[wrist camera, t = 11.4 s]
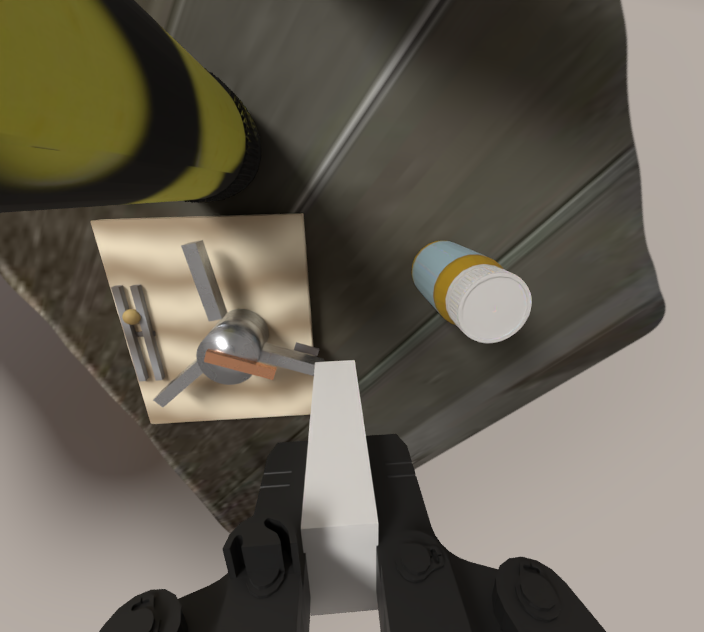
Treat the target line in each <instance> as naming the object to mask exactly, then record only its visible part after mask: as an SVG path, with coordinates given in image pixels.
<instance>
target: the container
mask: <svg viewBox="0 0 704 632" xmlns="http://www.w3.org/2000/svg"><path fill="white" fill-rule="evenodd" d="M260 159H261V146H260V138H259V135H258V132H257V128H256V125H255V123H254V122H253V120H252V118H251V117H250V113H249V112H247V108H246V107H245V106H244V105H243V103H242V102H241V100H239V98H238V97H237V96H236V95H235V94H234V93H233V92H232V91H231V90H230V89H229V88H228V87H227V86H226V85H225V83H223V82H222V81H221V80H220V79H219V78H217V77H215V75H213V73H211V72H209V71H207V70H206V69H205V68H203V67H202V66H201V65H200V64H199V63H198V62H197V61H196V60H195V59H194V58H193V57H192V56H191V55H190V54H189V53H188V52H187V51H186V50H185V49H184V48H183V47H182V46H181V45H180V44H179V43H178V42H177V41H176V40H174V39H173V38H172V37H171V36H170V35H169V34H168V33H167V32H166V31H165V30H164V29H163V28H162V27H161V26H160V25H159V24H158V23H157V22H156V21H155V20H154V19H153V18H152V17H151V16H150V15H149V14H148V13H147V12H146V11H145V10H144V9H143V8H141V7H140V6H139V5H138V4H137V3H136V2H135V1H134V0H0V213H1V212H16V211H32V210H47V209H62V208H77V207H92V206H107V205H122V204H137V203H152V202H167V201H182V200H184V201H185V202H187V201H188V202H189V201H190V202H192V203H193V202H198V203H199V202H208V201H209V202H210V201H217V200H218V201H219V200H221V199H222V200H223V199H225V198H229V197H230V196H231V195H235V194H237V193H238V192H240V191H242V190H243V189H245V188H246V187H247V186H248V185H249V183H250V182H251V181H252V180H253V179H254V177H255V175H256V173H257V171H258V167H259V163H260Z"/></svg>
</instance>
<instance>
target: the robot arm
mask: <svg viewBox="0 0 704 632" xmlns="http://www.w3.org/2000/svg"><path fill="white" fill-rule="evenodd" d="M223 553H224V557H225V561H226V565H227V569H228V573H227V574H226V575H225V576H224V577H222V578H221V579H220V580H218V581H216V582H215V583H213V584H211V585H209V586H207V587H205V588H203V589H200V590H198V591H196V592H193V593H191V594H189V595H186V596H184V597H182V598H179V599H177V597H176V595H175V594H173V593H171V592H169V591H167V590H166V589H159V590H150V591H147V592H145V593H142V594H140V595H137V596H135V597H134V598H132V599H131V600H130V601H128V602H127V603H126V604H124V605H123V606H121V607H120V608H119V609H118V610H117V611H116V612H115V613H114V614H113V615H112V617H111V618H110V619H109V620H108V621H107V622H106V623H105V625H104V626H103V627H102V628H101V630H100V631H99V632H309V623H310V614H311V616H312V615H323V614H334V613H346V612H357V611H368V610H377V609H378V611H379V620H380V628H381V632H606V631H605V630H604V629H603V627H602V626H601V625H600V624H599V622H598V621H597V620H596V619H595V618H594V616H593V615H592V614H591V613H590V612H589V610H588V609H587V608H586V607H585V606H584V604H583V603H582V602H581V601H580V600H579V598H578V597H577V596H576V595H575V593H574V592H573V591H572V590H571V589H570V588H569V586H568V585H567V584H566V583H565V582H564V581H563V580H562V579H561V578H560V577H559V576H558V575H557V574H556V573H555V572H554V571H553V570H552V569H550V568H548V567H547V566H545V565H543V564H542V563H540V562H538V561H536V560H532V559H528V558H525V557H516V558H509V559H508V560H507V561H505V562H504V563H503V564H501V565H500V567H499V569H494V568H491V567H487V566H483V565H479V564H476V563H472V562H468V561H466V560H464V559H461V558H459V557H457V556H455V555H454V554H452V553H451V552H449V551H448V550H447V549H446V548H445V547H444V546H443V545H442V544H441V543H440V542H439V540H438V539H437V537H436V536H435V534H434V531H433V529H432V527H431V524H430V521H429V517H428V514H427V511H426V507H425V504H424V501H423V498H422V494H421V491H420V487H419V484H418V481H417V477H416V476H415V471H414V467H413V464H412V461H411V458H410V454H409V451H408V448H407V445H406V444H405V443H404V442H403V441H402V440H401V439H400V437H399V436H398V435H397V434H388V435H372V436H366V435H365V428H364V421H363V414H362V407H361V400H360V394H359V387H358V380H357V373H356V366H355V360H349V361H330V362H315V369H314V380H313V392H312V404H311V415H310V427H309V438H308V441H297V442H282V443H277V445H276V446H275V447H274V449H273V450H272V451H271V453H270V454H269V455H268V457H267V461H266V466H265V470H264V475H263V478H262V483H261V489H260V491H259V495H258V500H257V504H256V508H255V513H254V516H252V517H250V518H248V519H247V520H245V521H243V522H242V523H240V524H239V525H238V526H237V527H236V528H235V529H234V531H233V532H232V533H231V534H230V535H229V537H228V539H227V541H226V543H225V545H224V547H223Z"/></svg>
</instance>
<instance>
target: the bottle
mask: <svg viewBox="0 0 704 632" xmlns="http://www.w3.org/2000/svg"><path fill="white" fill-rule="evenodd" d="M411 274H412V279H413V282H414V284H415V286H416V287H417V288H418V290H419V291H420V292H421V293H422V294H423V296H424V297H425V298H426V299H427V300H428V301H429V302H430V303H431V305H432V306H433V307H434V308H435V309H436V310H437V311H438V312H439V314H440V315H441V316H442V317H443V318H444V319H446V320H447V321H448V322H450V323H452V324H454V325H457V326H458V327H459V328H460V330H461V331H462V332H463V333H464V334H465V335H467V336H468V337H470V338H471V339H473V340H475V341H478V342H482V343H495V342H499V341H502V340H505V339H507V338H509V337H510V336H512V335H513V334H515V333H516V332H517V331H518V330H519V329H520V328H521V327H522V326H523V325H524V323H525V322H526V320H527V318H528V316H529V313H530V310H531V303H532V300H531V294H530V291H529V288H528V287H527V285H526V284H525V283H524V281H523V280H521V278H520V277H518V276H517V275H514V274H513V273H510V272H508V271H506V270H504V269H503V268H502V266H501V265H499V264H498V263H497V262H496V261H495V260H493V259H491V258H489V257H487V256H484V255H482V254H480V253H477V252H475V251H473V250H470V249H468V248H465V247H463V246H461V245H458V244H456V243H453V242H450V241H435V242H433V243H430V244H428V245H426V246H425V247H424V248H422V249H421V250H420V251H419V253H418V254H417V255H416V257H415V259H414V261H413V264H412V272H411Z"/></svg>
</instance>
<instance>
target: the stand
mask: <svg viewBox="0 0 704 632" xmlns="http://www.w3.org/2000/svg"><path fill="white" fill-rule="evenodd" d="M91 225H92V228H93V231H94V235H95V238H96V241H97V245H98V248H99V251H100V255H101V258H102V261H103V265H104V268H105V271H106V275H107V278H108V281H109V285H110V288H111V291H112V295H113V298H114V301H115V305H116V308H117V311H118V315H119V318H120V321H121V325H122V328H123V332H124V335H125V338H126V342H127V345H128V348H129V352H130V355H131V358H132V362H133V365H134V368H135V372H136V375H137V378H138V382H139V385H140V388H141V392H142V395H143V398H144V402H145V405H146V408H147V412H148V415H149V418H150V422H151V424H160V423H176V422H193V421H209V420H226V419H242V418H258V417H275V416H291V415H307V414H311V404H312V392H313V380H314V376H312V375H308V374H305V373H301V372H297V371H294V370H290V369H286V368H283V367H279V366H275V365H272V364H268V363H264V362H261V361H259V363H262V364H266V365H270V366H273V367H277V369H276V373H275V376H274V379H273V380H270V379H267V378H263V377H259V376H255V375H252V376H251V377H250V378H249V379H247V380H246V381H244V382H242V383H239V384H234V385H226V384H220V383H217V382H215V381H213V380H211V379H209V378H208V377H207V376H206V375H205V374H204V373H202V374H201V375H200V376H199V377H198V378H197V379H196V380H194V381H193V382H192V383H191V384H190V385H189V386H187V387H186V388H185V389H184V390H183V391H182V392H181V393H179V394H178V395H177V396H176V397H175V398H174V399H172V400H171V401H170V402H169V403H168V404H167V405H166V406H164V407H161V406H160V405H159V404H157V403H156V402H155V401H153V399H154V398H155V397H156V396H157V395H158V393H159V392H160V391H161V390H162V389H163V388H164V387H165V386H167V385H168V384H169V383H170V382H171V381H172V380H173V379H174V378H176V377H177V376H178V375H179V374H180V373H181V372H182V371H184V370H185V369H186V368H187V367H188V366H189V365H190V364H191V363H193V362H194V361H195V360H196V359H197V358H196V354H197V349H198V347H199V345H200V343H201V342H202V341H203V339H204V338H205V337H206V336H207V335H208V333H209V332H210V331H211V330H212V329H213V328H214V326H215V325H216V324H217V323H218V322H219V321H220V320H215V321H208V318H207V315H206V312H205V310H204V307H203V304H202V302H201V299H200V296H199V293H198V291H197V288H196V285H195V283H194V280H193V277H192V274H191V272H190V269H189V266H188V264H187V261H186V258H185V255H184V253H183V250H182V247H181V245H184V244H187V243H190V242H195V241H200V240H203V242H204V245H205V248H206V251H207V254H208V257H209V260H210V263H211V266H212V268H213V271H214V274H215V277H216V280H217V283H218V286H219V289H220V292H221V295H222V298H223V301H224V304H225V307H226V309H227V312H230V311H232V310H235V309H247V310H251V311H253V312H255V313H257V314H258V315H260V316H261V317H262V318H263V319H264V321H265V322H266V324H267V326H268V330H269V337H268V341H267V343H270V344H273V345H277V346H280V347H284V348H287V349H291V350H294V351H298V352H301V353H305V354H308V355H312V356H317V355H318V352H319V348H316V347H313V333H312V320H311V307H310V293H309V280H308V267H307V254H306V240H305V227H304V214H303V213H293V214H261V215H228V216H196V217H164V218H132V219H102V220H94V221H91Z"/></svg>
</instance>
